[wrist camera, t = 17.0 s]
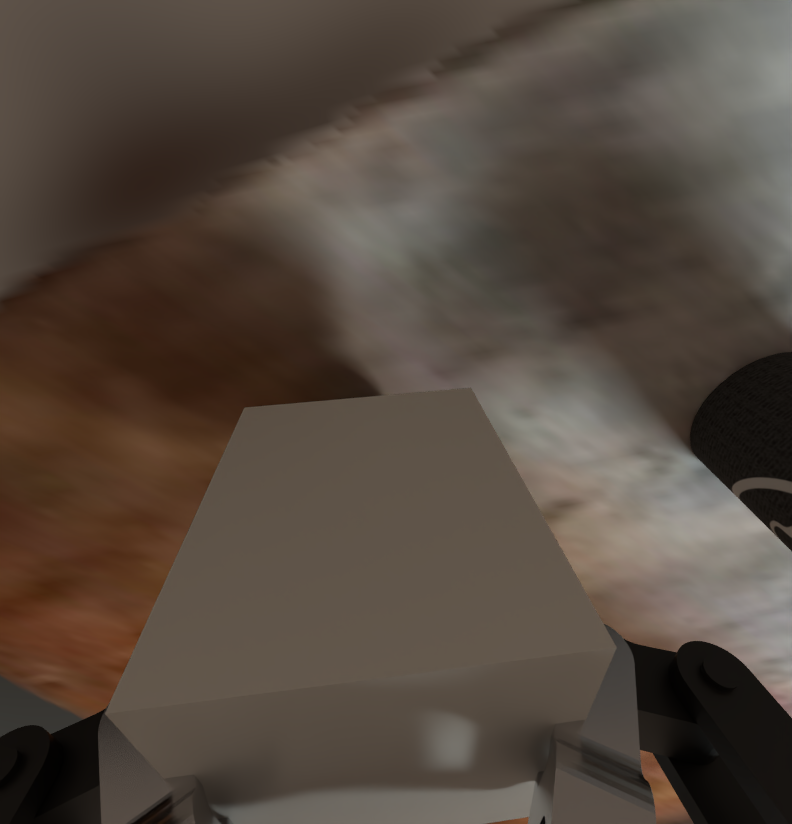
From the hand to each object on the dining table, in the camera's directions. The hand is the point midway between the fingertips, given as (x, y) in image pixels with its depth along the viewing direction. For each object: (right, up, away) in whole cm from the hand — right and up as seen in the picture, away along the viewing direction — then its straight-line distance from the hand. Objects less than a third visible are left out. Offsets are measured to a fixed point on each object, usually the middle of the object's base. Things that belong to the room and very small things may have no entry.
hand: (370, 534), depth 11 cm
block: (0, +1, +2) cm, 2 cm away
